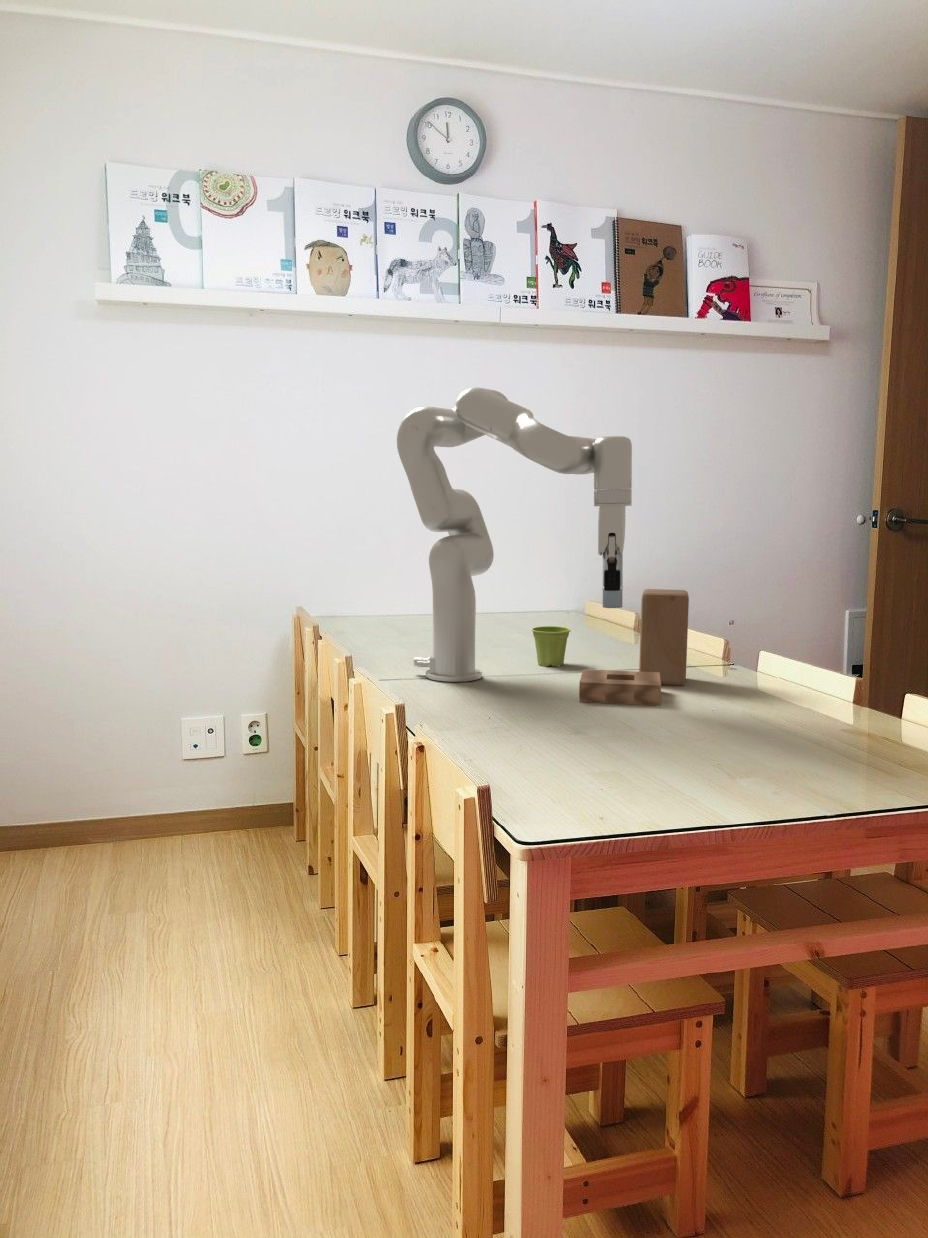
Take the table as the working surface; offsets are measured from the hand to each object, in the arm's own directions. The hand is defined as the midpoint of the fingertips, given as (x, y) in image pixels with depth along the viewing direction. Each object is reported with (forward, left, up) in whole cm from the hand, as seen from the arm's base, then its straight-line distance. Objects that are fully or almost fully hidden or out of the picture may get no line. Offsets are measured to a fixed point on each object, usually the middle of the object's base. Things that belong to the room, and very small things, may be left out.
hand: (612, 588), depth 206 cm
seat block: (+2, 0, -22) cm, 22 cm away
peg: (0, 0, -4) cm, 4 cm away
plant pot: (-15, +33, -22) cm, 42 cm away
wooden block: (+11, +18, -22) cm, 31 cm away
